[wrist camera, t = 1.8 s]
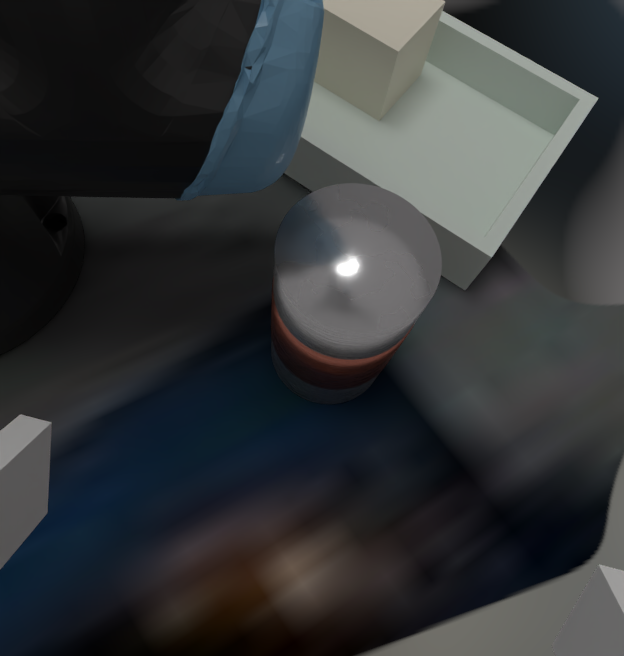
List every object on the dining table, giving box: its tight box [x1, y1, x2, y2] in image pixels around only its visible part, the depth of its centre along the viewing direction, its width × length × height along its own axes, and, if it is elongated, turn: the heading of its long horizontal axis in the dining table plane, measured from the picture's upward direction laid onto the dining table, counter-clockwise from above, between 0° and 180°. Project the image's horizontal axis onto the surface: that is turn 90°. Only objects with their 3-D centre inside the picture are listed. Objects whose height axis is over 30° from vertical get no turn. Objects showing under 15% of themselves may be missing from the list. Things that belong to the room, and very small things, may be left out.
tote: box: [284, 11, 598, 290], centre depth 38 cm, size 22×16×4 cm
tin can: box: [271, 183, 442, 404], centre depth 28 cm, size 7×7×12 cm
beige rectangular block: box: [314, 0, 445, 121], centre depth 38 cm, size 8×6×6 cm
